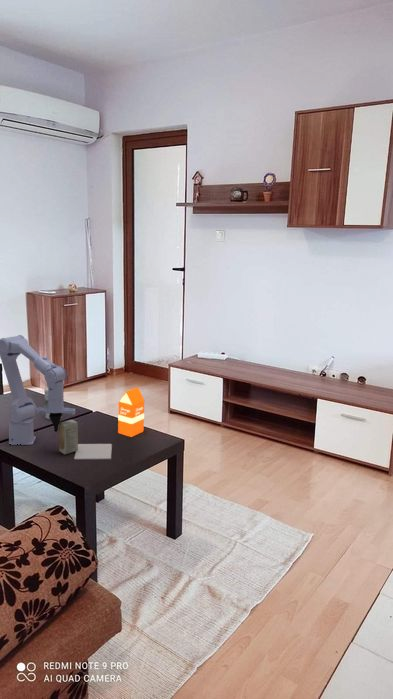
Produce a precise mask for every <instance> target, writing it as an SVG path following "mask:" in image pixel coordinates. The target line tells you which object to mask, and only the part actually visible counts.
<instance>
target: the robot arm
mask: <svg viewBox="0 0 393 699" xmlns="http://www.w3.org/2000/svg"><path fill="white" fill-rule="evenodd" d="M20 355H23V356H24V357H25V358H26V359H28V360H30V361H31V362H32V363H33V367H34V368H35V369H36V370H37V371H38V372H40V374H42V375H43V376H44V380H45V382H46V387H47V388H48V407H45V406H42V407H41V406H38V407H37V406H36V404H35V402H34V400H33V398H30V397H28V396H27V393H26V389H25V386H24V383H23V380H22V376H21V373H20V369H19V366H18V362H17V359H18V357H19V356H20ZM0 360H1V363H2V366H3V370H4V374H5V376H6V380H7V383H8V387H9V389H10V394H11V397H12V402H11V403H10V405H9V406H8V408H9V417H10V421H9V424H8V445H9V444H11V445H10V446H21V445H22V446H24V445H25V446H26V445H27V446H31V445H34V442H35V441H36V438H37V437H36V435H34V420H35V418H36V417H37V415H38V414H45V413H50V415H49V418H50V419H51V420H50V421H51V423H52V425H53V428H54V429H53V430H54V432H56V433H57V432H59V423H60V422H61V419H62V418H63V415H71V416H75V414H76V408H72V407H71V408H70V407H66V406H65V405H64V400H65V398H64V397H65V396H64V381H66V380H67V376H68V375H67V371H66V369H65V368H64V367H63V366H62V365H56V364H55V363H53V361H51V360H50V359H48V357H47V356H46V355H41V356H40V354H39V353H37V351H36V350H35V349H34V348H32V346H30V344H29V342H28V339H27V338H25V337H24V336H23V335H22V334H20V335H19V334H18V335H15V336H10V337H2V338H0ZM61 417H62V418H61ZM17 444H18V445H17ZM20 444H21V445H20Z"/></svg>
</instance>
